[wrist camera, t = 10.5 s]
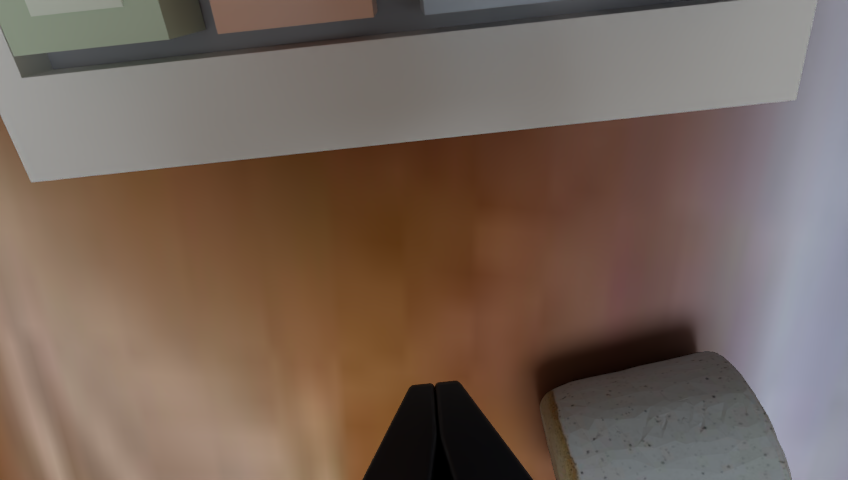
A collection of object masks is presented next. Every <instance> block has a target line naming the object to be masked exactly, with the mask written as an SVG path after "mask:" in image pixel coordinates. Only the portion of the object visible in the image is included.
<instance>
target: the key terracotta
mask: <svg viewBox="0 0 848 480" xmlns="http://www.w3.org/2000/svg"><path fill="white" fill-rule="evenodd" d="M209 1H210V5H211V9H212V13H213V17H214V21H215V25H216V29H217V33H218V34H225V33H234V32H243V31H252V30H262V29H271V28H280V27H289V26H298V25H308V24H317V23H326V22H335V21H344V20H354V19H363V18H372V17H374V16H375V15H376V13H377V11H378V9H377V1H376V0H209Z"/></svg>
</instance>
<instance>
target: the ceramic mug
mask: <svg viewBox="0 0 848 480" xmlns="http://www.w3.org/2000/svg"><path fill="white" fill-rule="evenodd" d="M540 412H541V418H542V422H543V427H544V431H545V435H546V440H547V444H548V449H549V453H550V457H551V461H552V465H553V470H554V474H555V477H556V480H792V478H791V473H790V469H789V466H788V463H787V460H786V457H785V454H784V452H783V450H782V448H781V446H780V444H779V442H778V439H777V437H776V434H775V431H774V428H773V426H772V424H771V421H770V419H769V417H768V415H767V414H766V412H765V410H764V409H763V407H762V406H761V404H760V402H759V400H758V399H757V397H756V395H755V394H754V392H753V391H752V389H751V388H750V387H749V385H748V384H747V382H746V381H745V380H744V378H743V377H742V375H741V374H740V373H739V372H738V371H737V370H736V368H735V367H734V366H733V365H732V364H731V363H730V362H729V361H727V360H726V359H725V358H724V357H723V356H721V355H719V354H717V353H715V352H710V351H704V352H698V353H694V354H690V355H686V356H682V357H678V358H674V359H669V360H665V361H660V362H656V363H651V364H646V365H642V366H637V367H633V368H630V369H626V370H622V371H619V372H614V373H609V374H603V375H599V376H594V377H590V378H585V379H581V380H576V381H572V382H569V383H567V384H564V385H562V386H559V387H557V388H555V389H553V390H551V391H549V392H548V393H546V394H545V396H544V397H543V398H542V401H541V403H540Z"/></svg>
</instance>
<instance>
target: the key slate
mask: <svg viewBox="0 0 848 480" xmlns="http://www.w3.org/2000/svg"><path fill="white" fill-rule="evenodd" d="M551 1H560V0H420V9H421V10H422V12H423V13H424V15H431V14H441V13H450V12H459V11H468V10H477V9H487V8H496V7H505V6H514V5H523V4H533V3H542V2H551Z"/></svg>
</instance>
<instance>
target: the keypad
mask: <svg viewBox="0 0 848 480" xmlns="http://www.w3.org/2000/svg"><path fill="white" fill-rule="evenodd" d="M198 1H199V5H200V8H201V12H202V16H203V20H204V24H205V27H206V30H203V31H199V32H195V33H192V34H188V35H184V36H181V37H177V38H173V39H169V40H160V41H151V42H142V43H133V44H123V45H114V46H105V47H96V48H87V49H77V50H68V51H59V52H50V53H41V54H31V55H22V56H13V53H12V51H11V49H10V46H9V44H8V41H7V39H6V37H5V34H4V32H3V30H2V27H1V25H0V115H1V117H2V119H3V122H4V124H5V126H6V128H7V130H8V133H9V135H10V137H11V139H12V141H13V143H14V146H15V148H16V150H17V152H18V154H19V157H20V159H21V161H22V163H23V165H24V168H25V170H26V172H27V174H28V176H29V179H30V181H31V182H40V181H49V180H58V179H68V178H77V177H86V176H96V175H105V174H114V173H123V172H133V171H142V170H151V169H161V168H170V167H179V166H188V165H198V164H207V163H216V162H226V161H235V160H244V159H254V158H263V157H272V156H281V155H291V154H300V153H309V152H319V151H328V150H337V149H346V148H356V147H365V146H374V145H384V144H393V143H402V142H411V141H421V140H430V139H439V138H449V137H458V136H467V135H476V134H486V133H495V132H504V131H514V130H523V129H532V128H541V127H551V126H560V125H569V124H579V123H588V122H597V121H606V120H616V119H625V118H634V117H644V116H653V115H662V114H671V113H681V112H690V111H699V110H709V109H718V108H727V107H736V106H746V105H755V104H764V103H774V102H783V101H792V100H796V98H797V93H798V89H799V84H800V79H801V75H802V70H803V66H804V61H805V56H806V52H807V47H808V42H809V38H810V33H811V28H812V24H813V19H814V14H815V10H816V5H817V1H818V0H560V1H551V2H542V3H533V4H523V5H514V6H505V7H496V8H487V9H477V10H468V11H459V12H450V13H441V14H431V15H424V13H423V12H422V10H421V9H420V0H376V1H377V9H378V11H377V13H376V15H375V16H374V17H372V18H363V19H354V20H344V21H335V22H326V23H317V24H308V25H298V26H289V27H280V28H271V29H262V30H252V31H243V32H234V33H225V34H218V33H217V29H216V25H215V21H214V17H213V13H212V9H211V5H210V1H209V0H198Z"/></svg>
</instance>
